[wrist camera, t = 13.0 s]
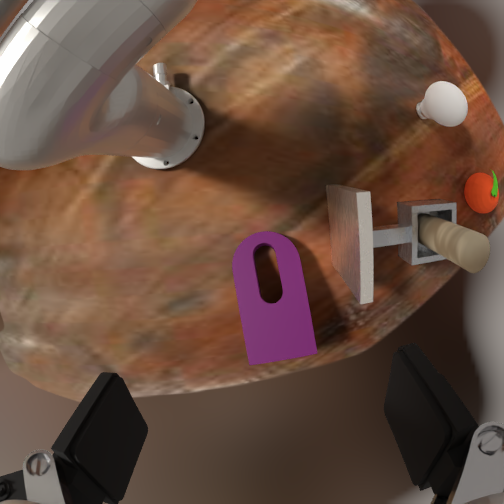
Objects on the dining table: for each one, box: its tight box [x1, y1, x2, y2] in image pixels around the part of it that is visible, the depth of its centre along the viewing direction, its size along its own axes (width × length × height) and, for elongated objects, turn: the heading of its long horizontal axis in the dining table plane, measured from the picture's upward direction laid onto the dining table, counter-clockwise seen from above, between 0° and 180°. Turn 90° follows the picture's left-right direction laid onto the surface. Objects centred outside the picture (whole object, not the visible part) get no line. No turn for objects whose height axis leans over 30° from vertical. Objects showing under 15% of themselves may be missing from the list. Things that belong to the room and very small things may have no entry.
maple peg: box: [417, 213, 490, 273], centre depth 27 cm, size 4×4×12 cm
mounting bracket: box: [232, 231, 317, 365], centre depth 43 cm, size 10×8×18 cm
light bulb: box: [416, 81, 468, 127], centre depth 30 cm, size 7×7×11 cm
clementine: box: [464, 171, 499, 214], centre depth 35 cm, size 8×7×7 cm
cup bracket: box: [325, 184, 456, 304], centre depth 34 cm, size 12×15×14 cm
